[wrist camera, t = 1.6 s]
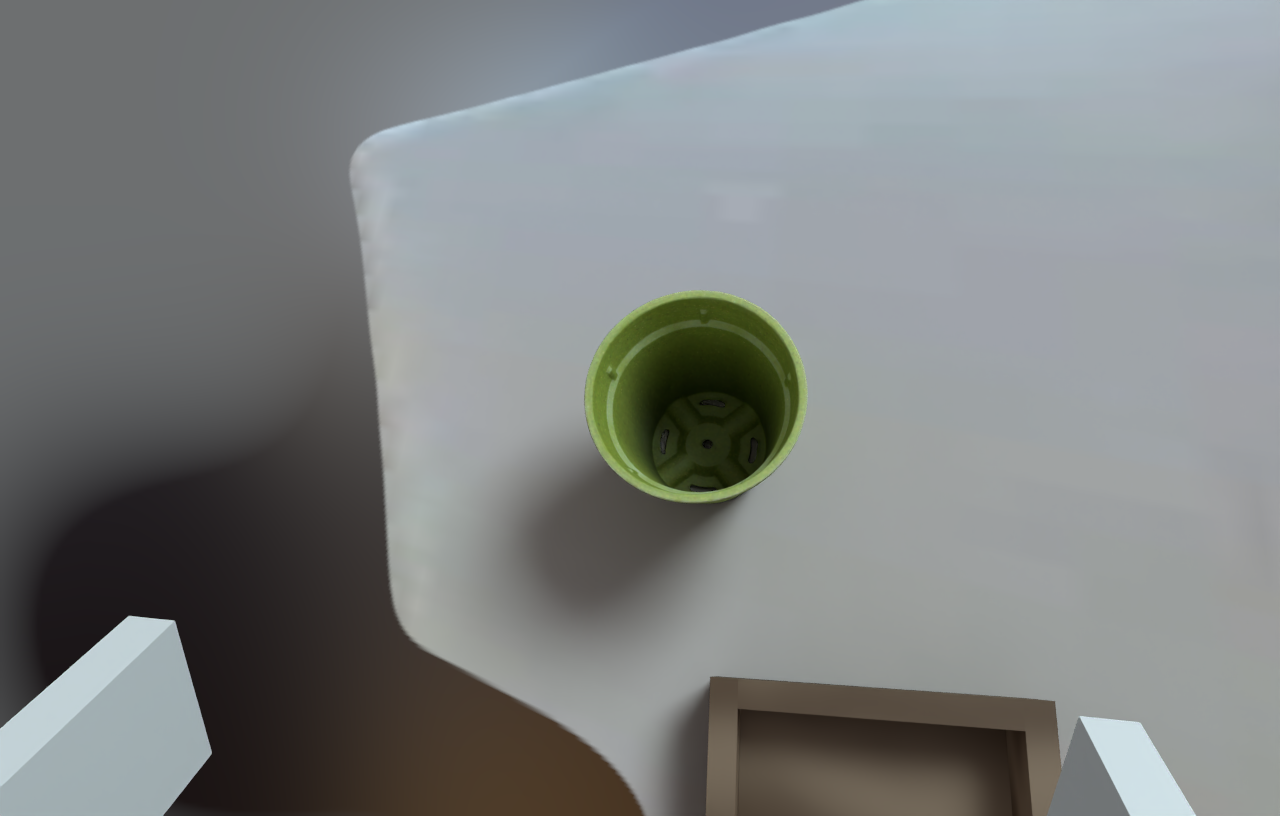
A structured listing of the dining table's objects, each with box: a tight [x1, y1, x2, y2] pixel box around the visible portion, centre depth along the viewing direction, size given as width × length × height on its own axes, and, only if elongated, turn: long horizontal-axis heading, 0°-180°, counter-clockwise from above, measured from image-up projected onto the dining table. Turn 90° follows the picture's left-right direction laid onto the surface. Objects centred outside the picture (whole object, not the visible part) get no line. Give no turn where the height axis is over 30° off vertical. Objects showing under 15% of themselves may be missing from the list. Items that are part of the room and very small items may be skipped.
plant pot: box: [584, 290, 807, 503], centre depth 36 cm, size 9×9×9 cm
